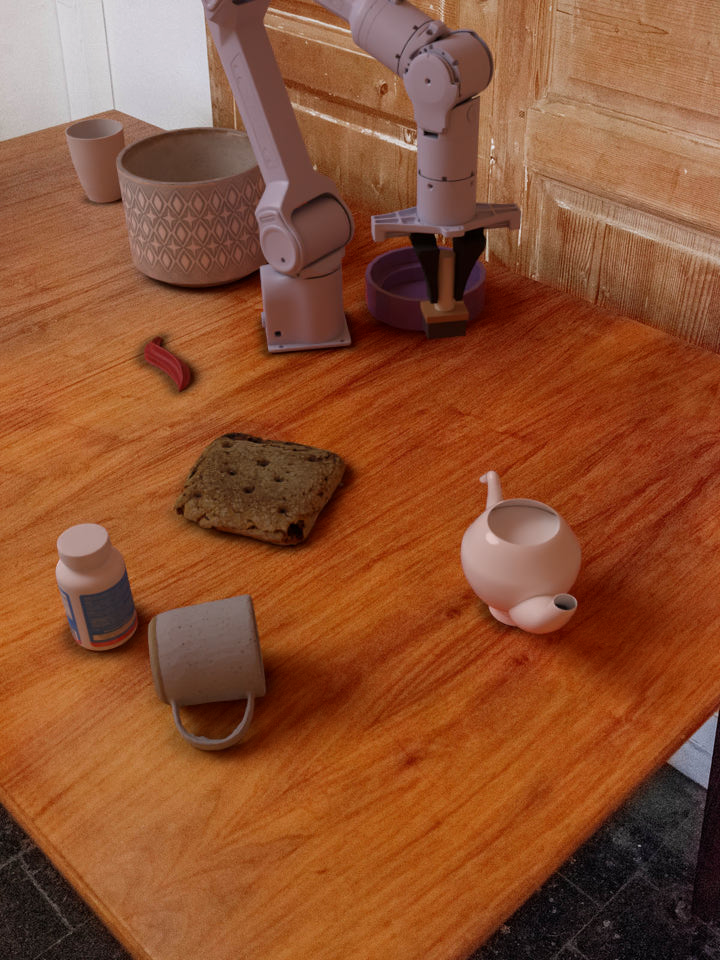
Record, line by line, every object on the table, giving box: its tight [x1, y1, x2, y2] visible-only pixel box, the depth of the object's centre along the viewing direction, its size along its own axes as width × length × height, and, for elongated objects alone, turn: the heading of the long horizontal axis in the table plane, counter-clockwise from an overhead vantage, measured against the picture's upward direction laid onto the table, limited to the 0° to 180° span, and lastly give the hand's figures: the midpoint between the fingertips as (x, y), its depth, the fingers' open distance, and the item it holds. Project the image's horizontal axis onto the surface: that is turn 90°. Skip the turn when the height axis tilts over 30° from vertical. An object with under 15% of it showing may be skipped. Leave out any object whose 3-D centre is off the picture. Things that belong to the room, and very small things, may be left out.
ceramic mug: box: [147, 593, 267, 751], centre depth 82 cm, size 11×8×8 cm
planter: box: [116, 126, 269, 288], centre depth 139 cm, size 19×19×14 cm
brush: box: [420, 250, 469, 340], centre depth 112 cm, size 4×3×9 cm
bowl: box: [364, 245, 487, 332], centre depth 131 cm, size 14×14×4 cm
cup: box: [64, 118, 126, 204], centre depth 158 cm, size 8×8×10 cm
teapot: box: [460, 470, 583, 635], centre depth 88 cm, size 10×20×9 cm, turn 12°
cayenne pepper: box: [143, 336, 191, 392], centre depth 122 cm, size 12×5×2 cm, turn 13°
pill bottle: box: [55, 522, 139, 652], centre depth 87 cm, size 6×5×10 cm
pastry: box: [173, 431, 346, 547], centre depth 103 cm, size 17×17×3 cm
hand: (444, 297), depth 112 cm, fingers closed on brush, 2 cm apart
